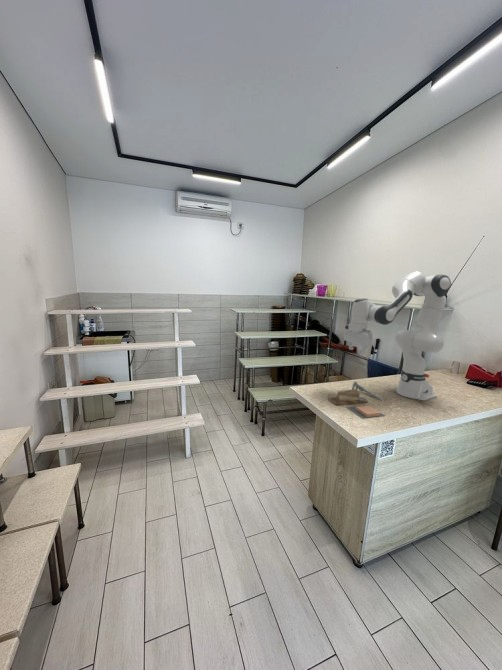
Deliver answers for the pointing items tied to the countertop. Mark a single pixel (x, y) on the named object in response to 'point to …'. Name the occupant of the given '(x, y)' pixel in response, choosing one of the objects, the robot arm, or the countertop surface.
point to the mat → (360, 413)
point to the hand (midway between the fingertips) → (356, 351)
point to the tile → (368, 411)
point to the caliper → (364, 390)
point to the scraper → (349, 395)
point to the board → (345, 402)
